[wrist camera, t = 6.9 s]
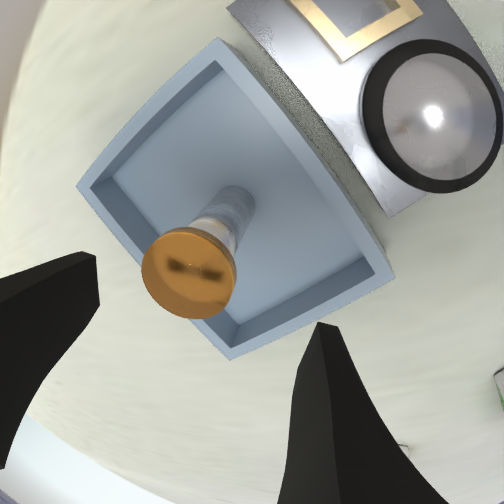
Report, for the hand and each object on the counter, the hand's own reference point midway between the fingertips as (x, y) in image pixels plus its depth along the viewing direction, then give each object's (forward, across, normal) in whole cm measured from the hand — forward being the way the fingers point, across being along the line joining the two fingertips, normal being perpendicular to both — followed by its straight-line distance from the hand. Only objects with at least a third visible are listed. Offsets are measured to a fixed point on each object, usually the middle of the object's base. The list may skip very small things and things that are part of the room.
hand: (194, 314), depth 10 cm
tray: (+10, +1, 0) cm, 10 cm away
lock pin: (+10, +1, 0) cm, 10 cm away
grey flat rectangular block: (+10, -5, -10) cm, 15 cm away
